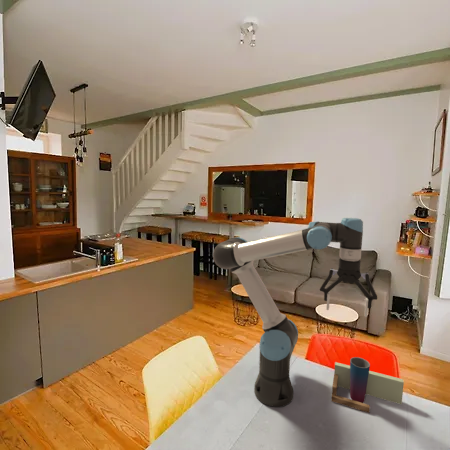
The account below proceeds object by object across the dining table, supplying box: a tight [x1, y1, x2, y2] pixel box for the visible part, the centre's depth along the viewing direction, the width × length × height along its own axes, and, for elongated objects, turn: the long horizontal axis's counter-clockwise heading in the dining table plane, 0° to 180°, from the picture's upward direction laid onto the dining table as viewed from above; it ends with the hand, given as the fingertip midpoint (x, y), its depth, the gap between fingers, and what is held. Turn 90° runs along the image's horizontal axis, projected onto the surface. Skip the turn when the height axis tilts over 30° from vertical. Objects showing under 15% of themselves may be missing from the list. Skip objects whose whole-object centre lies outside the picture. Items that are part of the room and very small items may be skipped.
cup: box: [349, 356, 371, 404], centre depth 108 cm, size 7×7×15 cm
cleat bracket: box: [330, 373, 371, 414], centre depth 109 cm, size 13×10×5 cm
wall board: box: [333, 361, 405, 405], centre depth 111 cm, size 24×2×9 cm, turn 64°
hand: (346, 312), depth 109 cm, fingers open, 13 cm apart
